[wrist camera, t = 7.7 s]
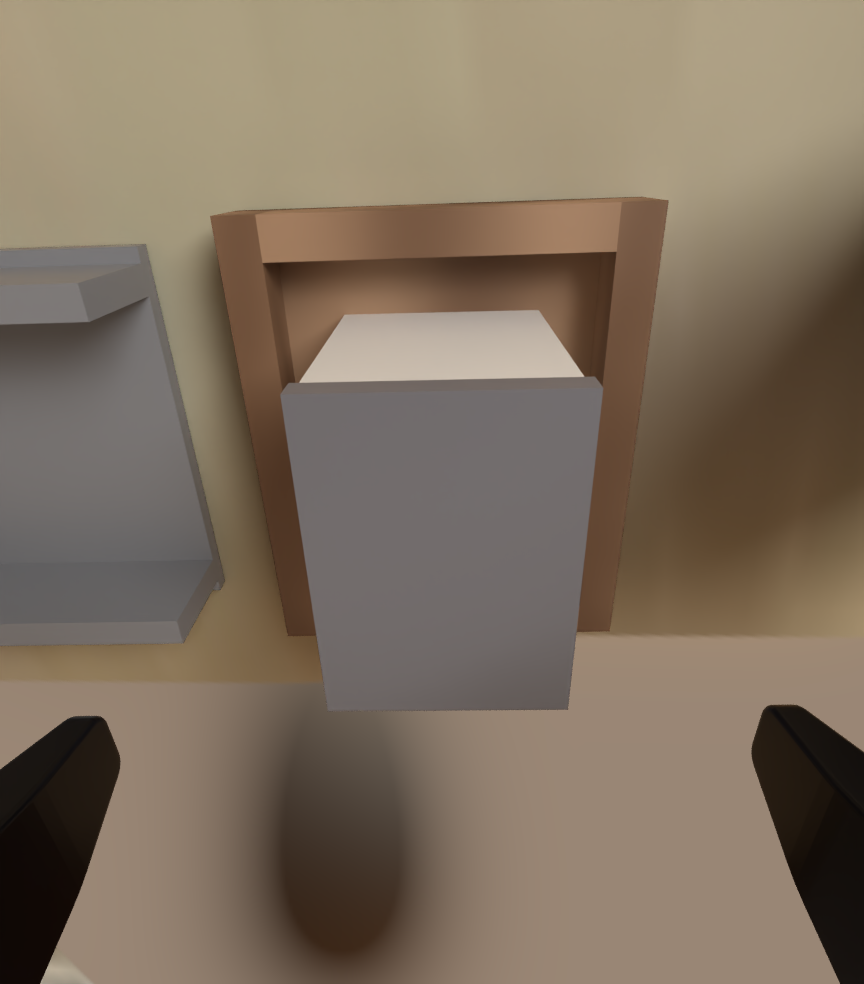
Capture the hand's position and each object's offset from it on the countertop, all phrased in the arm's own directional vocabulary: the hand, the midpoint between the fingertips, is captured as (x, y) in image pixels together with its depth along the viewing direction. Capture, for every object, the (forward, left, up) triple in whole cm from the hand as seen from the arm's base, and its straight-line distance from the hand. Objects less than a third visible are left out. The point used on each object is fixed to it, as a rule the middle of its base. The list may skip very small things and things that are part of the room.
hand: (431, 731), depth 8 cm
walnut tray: (0, 0, -11) cm, 11 cm away
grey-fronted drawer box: (0, 0, -10) cm, 10 cm away
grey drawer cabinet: (+13, 0, -11) cm, 17 cm away
